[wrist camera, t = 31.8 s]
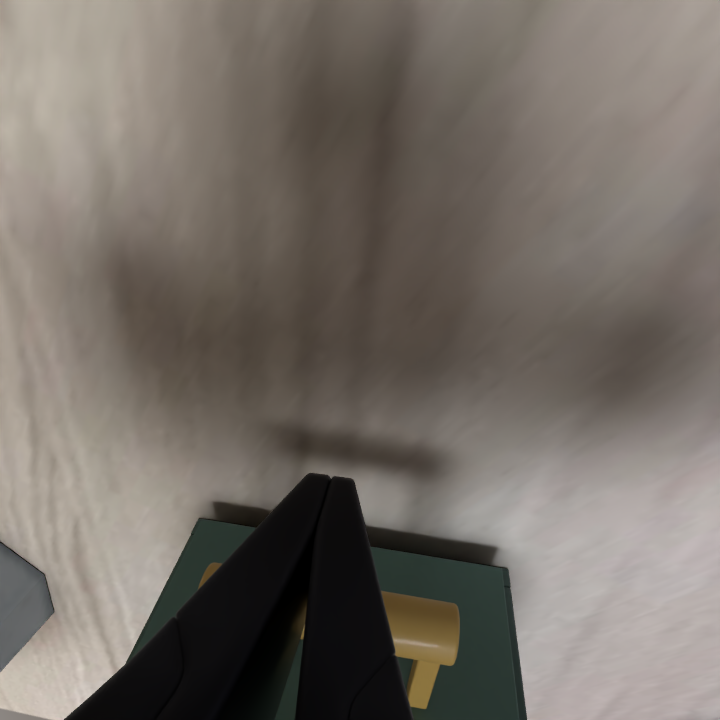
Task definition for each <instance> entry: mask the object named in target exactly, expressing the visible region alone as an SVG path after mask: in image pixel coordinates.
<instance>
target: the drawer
mask: <svg viewBox="0 0 720 720" xmlns="http://www.w3.org/2000/svg"><path fill="white" fill-rule="evenodd" d="M255 529H256V528H255V527H249V526H243V525H237V524H230V523H224V522H218V521H212V520H206V519H201V521H200V523H199V525H198V527H197V529H196V531H195V533H194V535H193V537H192V539H191V541H190V543H189V545H188V547H187V549H186V551H185V553H184V555H183V557H182V559H181V561H180V563H179V565H178V567H177V569H176V571H175V573H174V575H173V577H172V579H171V581H170V583H169V584H168V586H167V588H166V590H165V592H164V594H163V596H162V598H161V600H160V602H159V604H158V606H157V608H156V610H155V612H154V614H153V616H152V618H151V620H150V622H149V624H148V626H147V628H146V630H145V632H144V634H143V636H142V638H141V640H140V642H139V644H138V646H137V648H136V650H135V652H134V654H133V656H134V655H135V654H136V653H137V652H138V651H139V650H140V649H141V648H142V647H143V646H144V645H145V644H146V643H147V642H148V641H149V640H150V639H151V638H152V637H153V636H154V635H155V634H156V633H157V632H158V631H159V630H160V629H161V628H162V627H163V626H164V625H165V623H166V622H167V621H168V620H169V619H170V618H171V617H176V612H177V611H178V610H179V609H180V608H181V607H182V606H183V605H184V604H185V603H186V602H187V601H188V600H189V598H190V597H191V596H192V595H193V594H194V593H195V592H196V591H197V590H198V589H199V588H200V587H201V586H202V585H203V584H204V583H205V582H206V581H207V579H208V578H209V577H210V576H211V575H212V574H213V573H214V572H215V571H216V570H217V569H218V568H219V567H220V566H221V565H222V564H223V563H224V562H225V560H226V559H227V558H228V557H229V556H230V555H231V554H232V553H233V552H234V551H235V550H236V549H237V548H238V547H239V546H240V545H241V544H242V543H243V541H244V540H245V539H246V538H247V537H248V536H249V535H250V534H251V533H252V532H253V531H254V530H255ZM371 551H372V556H373V560H374V564H375V568H376V572H377V576H378V580H379V584H380V588H381V593H382V597H383V601H384V605H385V609H386V613H387V617H388V621H389V625H390V630H391V634H392V638H393V642H394V646H395V650H396V653H395V655H396V656H397V657H398V661H399V666H400V670H401V674H402V678H403V682H404V685H405V689H406V693H407V696H408V700H409V704H410V707H411V711H412V714H413V718H414V720H519V711H518V703H517V694H516V685H515V677H514V668H513V659H512V651H511V642H510V633H509V624H508V616H507V607H506V598H505V590H504V581H503V572H502V568H498V567H492V566H486V565H480V564H474V563H468V562H462V561H456V560H450V559H443V558H437V557H431V556H425V555H419V554H413V553H407V552H401V551H395V550H389V549H383V548H376V547H371ZM304 629H305V626H304ZM304 629H303V632H302V635H301V638H300V641H299V644H298V648H297V651H296V654H295V657H294V660H293V663H292V667H291V670H290V673H289V676H288V679H287V682H286V685H285V689H284V692H283V695H282V698H281V701H280V704H279V708H278V711H277V714H276V717H275V720H295V714H296V704H297V695H298V685H299V676H300V666H301V657H302V647H303V638H304ZM133 656H132V657H133Z"/></svg>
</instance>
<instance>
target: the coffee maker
mask: <svg viewBox="0 0 720 720" xmlns="http://www.w3.org/2000/svg"><path fill="white" fill-rule="evenodd" d="M53 613H54V611H53V607H52V603H51V599H50V595H49V591H48V588H47V584H46V580H45V576H44V574H42V573H41V572H39V571H38V570H37V569H35V568H34V567H33V566H31V565H30V564H29V563H27V562H26V561H24V560H23V559H22V558H20V557H19V556H18V555H16V554H15V553H14V552H12V551H11V550H10V549H8V548H7V547H5V546H4V545H3V544H1V543H0V672H1V671H2V670H3V669H4V668H5V666H6V665H7V664H8V663H9V662H10V661H11V660H12V659H13V658H14V656H15V655H16V654H17V653H18V652H19V651H20V650H21V649H22V647H23V646H24V645H25V644H26V643H27V642H28V641H29V640H30V639H31V637H32V636H33V635H34V634H35V633H36V632H37V631H38V630H39V629H40V627H41V626H42V625H43V624H44V623H45V622H46V621H47V620H48V618H49V617H50V616H51V615H52V614H53Z"/></svg>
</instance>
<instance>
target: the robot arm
mask: <svg viewBox="0 0 720 720" xmlns="http://www.w3.org/2000/svg"><path fill="white" fill-rule="evenodd" d="M304 626H305V629H304ZM303 629H304V638H303V647H302V657H301V666H300V676H299V685H298V695H297V704H296V714H295V720H414V718H413V714H412V711H411V707H410V704H409V700H408V696H407V693H406V689H405V685H404V682H403V678H402V674H401V670H400V666H399V661H398V657H397V656H396V655H395V653H396V650H395V646H394V642H393V638H392V634H391V630H390V625H389V621H388V617H387V613H386V609H385V605H384V601H383V597H382V593H381V588H380V584H379V580H378V576H377V572H376V568H375V564H374V560H373V556H372V551H371V547H370V543H369V539H368V535H367V531H366V527H365V523H364V518H363V514H362V510H361V506H360V502H359V498H358V494H357V490H356V486H355V482H354V480H353V479H351V478H344V477H337V476H334V477H332V478H330V476H328V475H324V474H317V473H309V474H307V475H306V476H305V477H304V478H303V479H302V480H301V481H300V482H299V483H298V484H297V486H296V487H295V488H294V489H293V490H292V491H291V492H290V493H289V494H288V495H287V496H286V497H285V498H284V499H283V500H282V501H281V502H280V503H279V505H278V506H277V507H276V508H275V509H274V510H273V511H272V512H271V513H270V514H269V515H268V516H267V517H266V518H265V519H264V520H263V521H262V522H261V524H260V525H259V526H258V527H257V528H256V529H255V530H254V531H253V532H252V533H251V534H250V535H249V536H248V537H247V538H246V539H245V540H244V541H243V543H242V544H241V545H240V546H239V547H238V548H237V549H236V550H235V551H234V552H233V553H232V554H231V555H230V556H229V557H228V558H227V559H226V560H225V562H224V563H223V564H222V565H221V566H220V567H219V568H218V569H217V570H216V571H215V572H214V573H213V574H212V575H211V576H210V577H209V578H208V579H207V581H206V582H205V583H204V584H203V585H202V586H201V587H200V588H199V589H198V590H197V591H196V592H195V593H194V594H193V595H192V596H191V597H190V598H189V600H188V601H187V602H186V603H185V604H184V605H183V606H182V607H181V608H180V609H179V610H178V611H177V612H176V617H171V618H170V619H169V620H168V621H167V622H166V623H165V625H164V626H163V627H162V628H161V629H160V630H159V631H158V632H157V633H156V634H155V635H154V636H153V637H152V638H151V639H150V640H149V641H148V642H147V643H146V644H145V645H144V646H143V647H142V648H141V649H140V650H139V651H138V652H137V653H136V654H135V655H134V656H133V657H132V658H131V659H130V660H129V661H128V662H127V663H126V664H125V665H124V666H123V667H122V668H121V669H120V670H119V671H118V672H117V673H115V674H114V675H113V676H112V677H111V678H110V679H109V680H108V681H107V682H106V683H105V684H103V685H102V686H101V687H100V688H99V689H98V690H97V691H96V692H95V693H94V694H92V695H91V696H90V697H89V698H88V699H87V700H86V701H85V702H83V703H82V704H81V705H80V706H79V707H78V708H77V709H75V710H74V711H73V712H72V713H71V714H70V715H69V716H67V717H66V718H65V719H64V720H275V717H276V714H277V711H278V708H279V704H280V701H281V698H282V695H283V692H284V689H285V685H286V682H287V679H288V676H289V673H290V670H291V667H292V663H293V660H294V657H295V654H296V651H297V648H298V644H299V641H300V638H301V635H302V632H303Z"/></svg>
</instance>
